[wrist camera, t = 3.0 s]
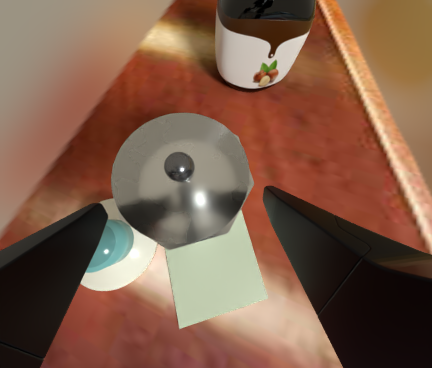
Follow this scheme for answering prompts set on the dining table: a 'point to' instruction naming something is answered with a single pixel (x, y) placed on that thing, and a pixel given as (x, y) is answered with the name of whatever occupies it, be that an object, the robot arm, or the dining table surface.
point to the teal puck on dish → (118, 254)
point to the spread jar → (260, 40)
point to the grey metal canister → (181, 179)
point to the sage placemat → (215, 275)
